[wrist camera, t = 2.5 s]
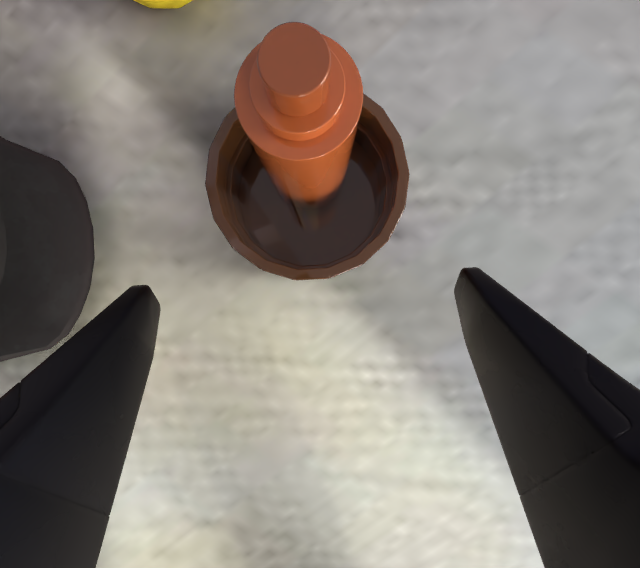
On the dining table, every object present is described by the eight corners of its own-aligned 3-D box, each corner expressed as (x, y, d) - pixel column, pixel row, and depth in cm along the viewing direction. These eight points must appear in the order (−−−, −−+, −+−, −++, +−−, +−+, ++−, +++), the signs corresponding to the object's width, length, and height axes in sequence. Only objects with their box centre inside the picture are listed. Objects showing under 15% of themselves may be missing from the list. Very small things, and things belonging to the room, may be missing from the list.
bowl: (327, 311, 23) (328, 320, 18) (196, 213, 23) (165, 198, 18) (424, 182, 22) (450, 158, 18) (292, 82, 22) (285, 33, 18)
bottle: (316, 224, 22) (309, 168, 11) (257, 180, 22) (185, 74, 10) (360, 165, 22) (403, 42, 10) (301, 120, 22) (278, -53, 10)
